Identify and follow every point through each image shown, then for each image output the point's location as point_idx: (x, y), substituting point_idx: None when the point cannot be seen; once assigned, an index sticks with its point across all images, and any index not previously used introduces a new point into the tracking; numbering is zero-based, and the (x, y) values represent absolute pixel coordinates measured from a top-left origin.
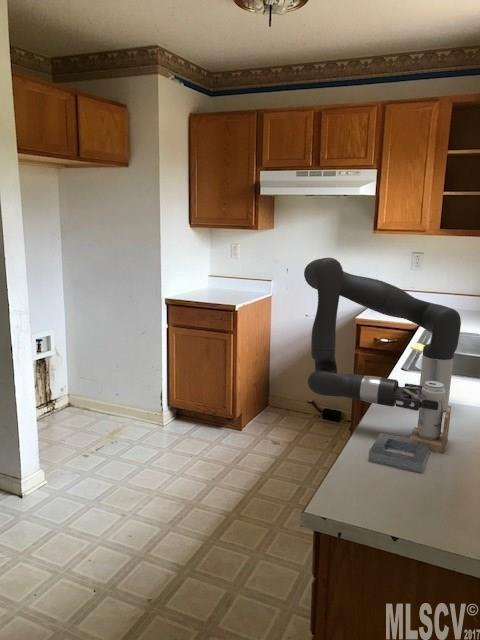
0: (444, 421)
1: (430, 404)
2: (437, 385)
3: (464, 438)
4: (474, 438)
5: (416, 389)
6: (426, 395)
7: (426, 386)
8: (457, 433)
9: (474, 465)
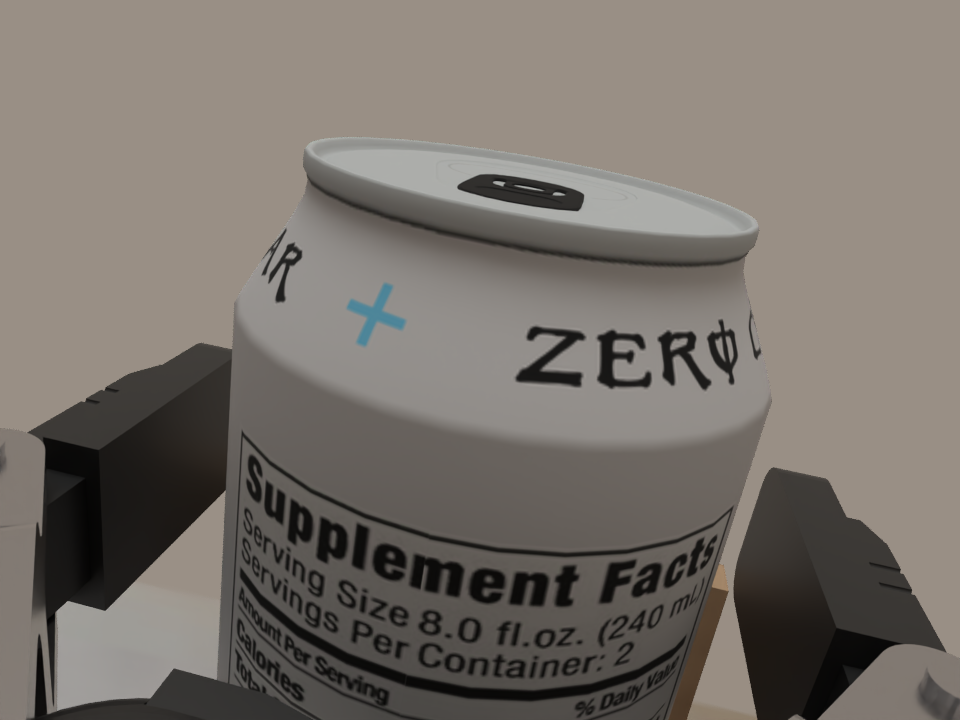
0: (709, 642)
1: (901, 594)
2: (595, 189)
3: (200, 658)
4: (200, 596)
5: (35, 647)
6: (729, 512)
7: (680, 298)
8: (76, 684)
9: (717, 707)
